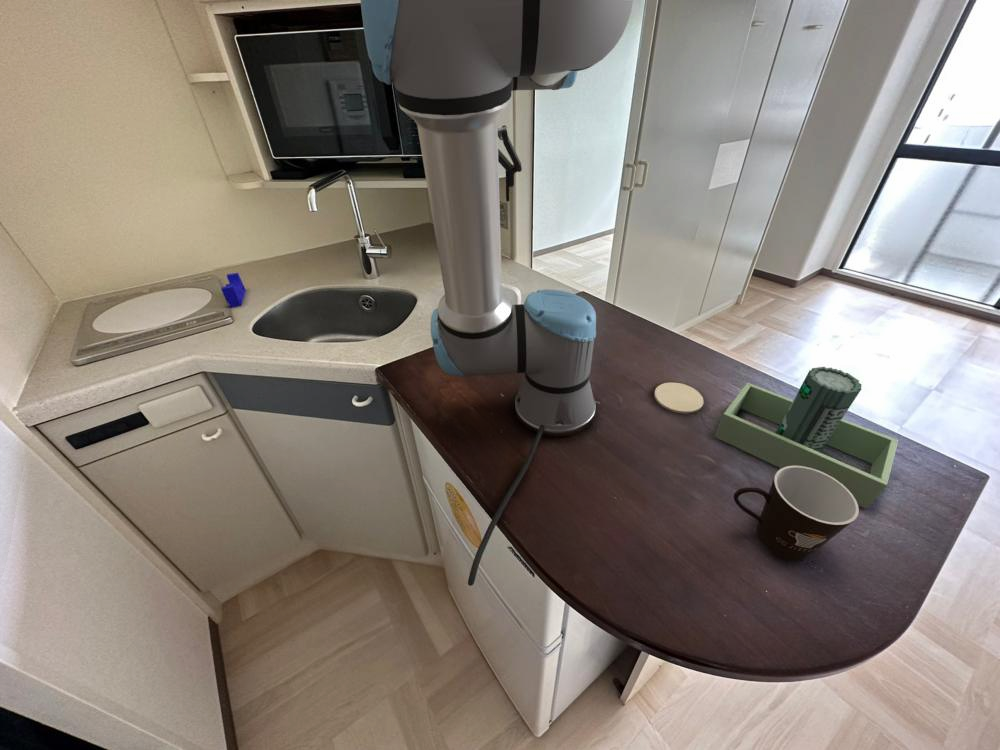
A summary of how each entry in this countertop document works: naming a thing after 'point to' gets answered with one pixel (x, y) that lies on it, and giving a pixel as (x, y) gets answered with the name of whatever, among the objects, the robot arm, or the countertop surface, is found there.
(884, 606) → the countertop surface
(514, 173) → the robot arm
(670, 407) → the coaster
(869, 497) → the box
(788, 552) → the coffee mug
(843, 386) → the can
